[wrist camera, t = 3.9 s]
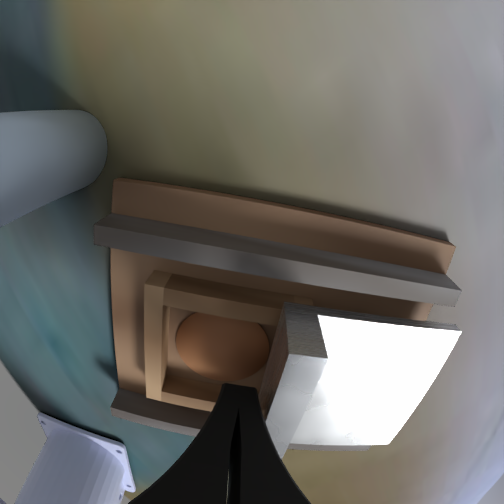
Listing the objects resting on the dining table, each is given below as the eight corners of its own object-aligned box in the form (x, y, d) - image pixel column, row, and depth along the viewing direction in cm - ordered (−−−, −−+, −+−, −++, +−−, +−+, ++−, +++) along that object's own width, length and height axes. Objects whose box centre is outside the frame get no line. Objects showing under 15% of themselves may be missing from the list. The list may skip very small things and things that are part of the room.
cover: (386, 436, 15) (397, 477, 12) (247, 429, 15) (244, 477, 12) (455, 324, 12) (486, 366, 9) (284, 301, 12) (288, 353, 9)
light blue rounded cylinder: (104, 193, 13) (-5, 255, 6) (42, 185, 13) (-68, 235, 6) (112, 110, 11) (-9, 113, 5) (47, 110, 11) (-73, 121, 5)
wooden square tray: (353, 436, 18) (358, 461, 16) (125, 403, 18) (114, 428, 16) (449, 242, 13) (473, 261, 11) (119, 177, 13) (94, 188, 10)
